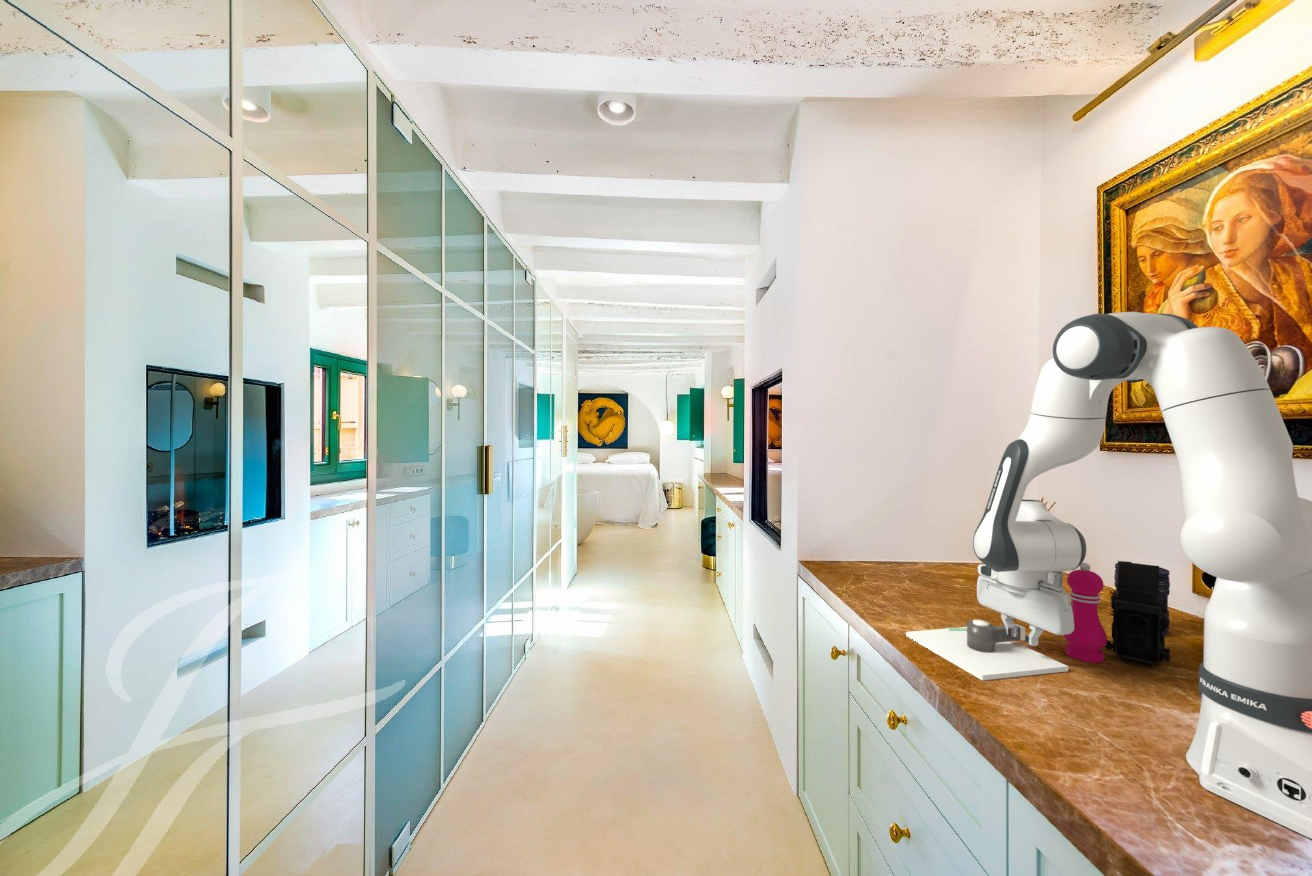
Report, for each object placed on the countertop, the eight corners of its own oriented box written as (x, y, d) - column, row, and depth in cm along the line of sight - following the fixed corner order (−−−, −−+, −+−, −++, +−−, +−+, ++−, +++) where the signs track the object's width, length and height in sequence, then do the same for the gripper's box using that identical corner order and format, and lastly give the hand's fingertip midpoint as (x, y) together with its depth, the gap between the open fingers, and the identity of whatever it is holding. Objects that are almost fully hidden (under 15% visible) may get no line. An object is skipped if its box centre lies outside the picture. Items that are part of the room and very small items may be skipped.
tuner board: (1069, 671, 103) (1069, 665, 103) (982, 680, 99) (982, 674, 99) (979, 629, 125) (979, 624, 125) (905, 635, 121) (905, 630, 121)
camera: (1104, 662, 107) (1105, 565, 107) (1107, 642, 117) (1108, 554, 117) (1172, 677, 100) (1173, 574, 100) (1169, 655, 110) (1170, 561, 110)
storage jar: (1182, 637, 120) (1182, 573, 120) (1139, 636, 120) (1139, 573, 120) (1142, 621, 130) (1143, 562, 130) (1102, 621, 130) (1103, 562, 130)
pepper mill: (1115, 665, 105) (1116, 568, 105) (1075, 662, 107) (1075, 566, 107) (1093, 650, 112) (1093, 559, 112) (1055, 648, 114) (1056, 558, 114)
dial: (980, 652, 109) (980, 627, 109) (961, 642, 114) (961, 618, 114) (1031, 647, 111) (1031, 622, 111) (1010, 638, 116) (1010, 614, 116)
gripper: (1083, 588, 100) (1083, 659, 100) (995, 562, 120) (994, 622, 120) (1056, 590, 98) (1055, 662, 98) (971, 564, 118) (971, 624, 119)
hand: (1021, 640), depth 109 cm, fingers open, 3 cm apart
